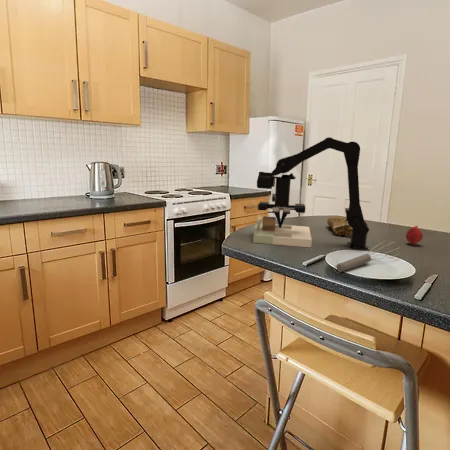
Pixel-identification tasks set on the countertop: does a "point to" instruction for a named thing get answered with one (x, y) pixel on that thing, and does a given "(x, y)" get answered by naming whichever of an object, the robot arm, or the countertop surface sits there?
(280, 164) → the robot arm
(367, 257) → the kitchen whisk
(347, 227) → the sponge
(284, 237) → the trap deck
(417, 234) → the onion
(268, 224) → the block
